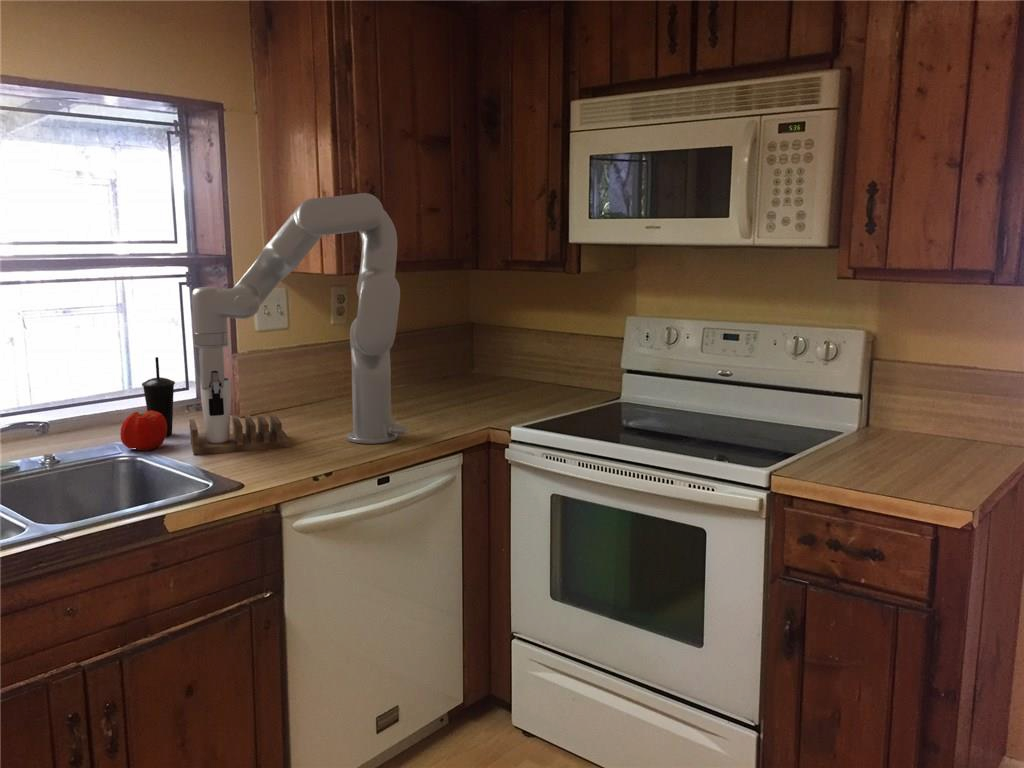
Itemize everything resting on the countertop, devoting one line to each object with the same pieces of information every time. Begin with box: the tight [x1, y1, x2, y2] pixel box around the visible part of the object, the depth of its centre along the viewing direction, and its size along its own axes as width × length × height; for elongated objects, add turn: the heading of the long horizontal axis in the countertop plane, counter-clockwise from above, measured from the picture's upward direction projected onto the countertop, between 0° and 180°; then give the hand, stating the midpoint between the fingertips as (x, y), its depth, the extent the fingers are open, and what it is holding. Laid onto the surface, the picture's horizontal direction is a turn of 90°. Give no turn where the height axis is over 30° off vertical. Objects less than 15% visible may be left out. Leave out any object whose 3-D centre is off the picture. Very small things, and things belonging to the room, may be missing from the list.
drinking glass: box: [199, 377, 232, 443], centre depth 204 cm, size 7×7×15 cm
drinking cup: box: [141, 356, 176, 438], centre depth 214 cm, size 8×8×20 cm
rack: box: [189, 412, 291, 456], centre depth 207 cm, size 22×12×6 cm, turn 113°
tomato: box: [120, 410, 167, 451], centre depth 203 cm, size 11×11×9 cm
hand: (215, 411), depth 204 cm, fingers open, 9 cm apart
